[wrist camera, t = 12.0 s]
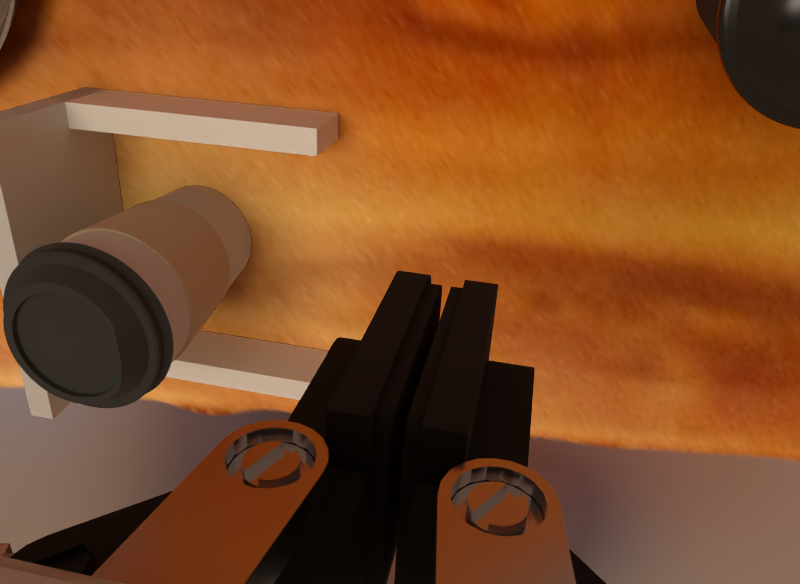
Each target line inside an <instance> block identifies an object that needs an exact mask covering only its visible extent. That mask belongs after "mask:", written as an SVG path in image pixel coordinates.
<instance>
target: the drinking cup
mask: <svg viewBox="0 0 800 584" xmlns="http://www.w3.org/2000/svg"><path fill="white" fill-rule="evenodd" d="M696 4H697V9H698V12H699V15H700V17H701V19H702V21H703V22H704V24H705V25H706V27H707V29H708V30H709V32H710V34H711V35H712V37H713V38H714V40H715V42H716V43H717V47H718V52H719V56H720V60H721V63H722V66H723V69H724V71H725V73H726V75H727V77H728V79H729V81H730V82H731V84H732V86H733V87H734V89H735V90H736V91H737V92H738V94H739V95H740V96H741V97H742V98H743V99H744V100H745V101H746V102H747V103H748V104H749V105H750V106H751V107H753V108H754V109H755V110H756V111H758V112H759V113H761V114H763V115H764V116H766V117H767V118H770V119H772V120H774V121H776V122H778V123H781V124H783V125H786V126H790V127H794V128H798V129H800V0H696Z"/></svg>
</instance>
